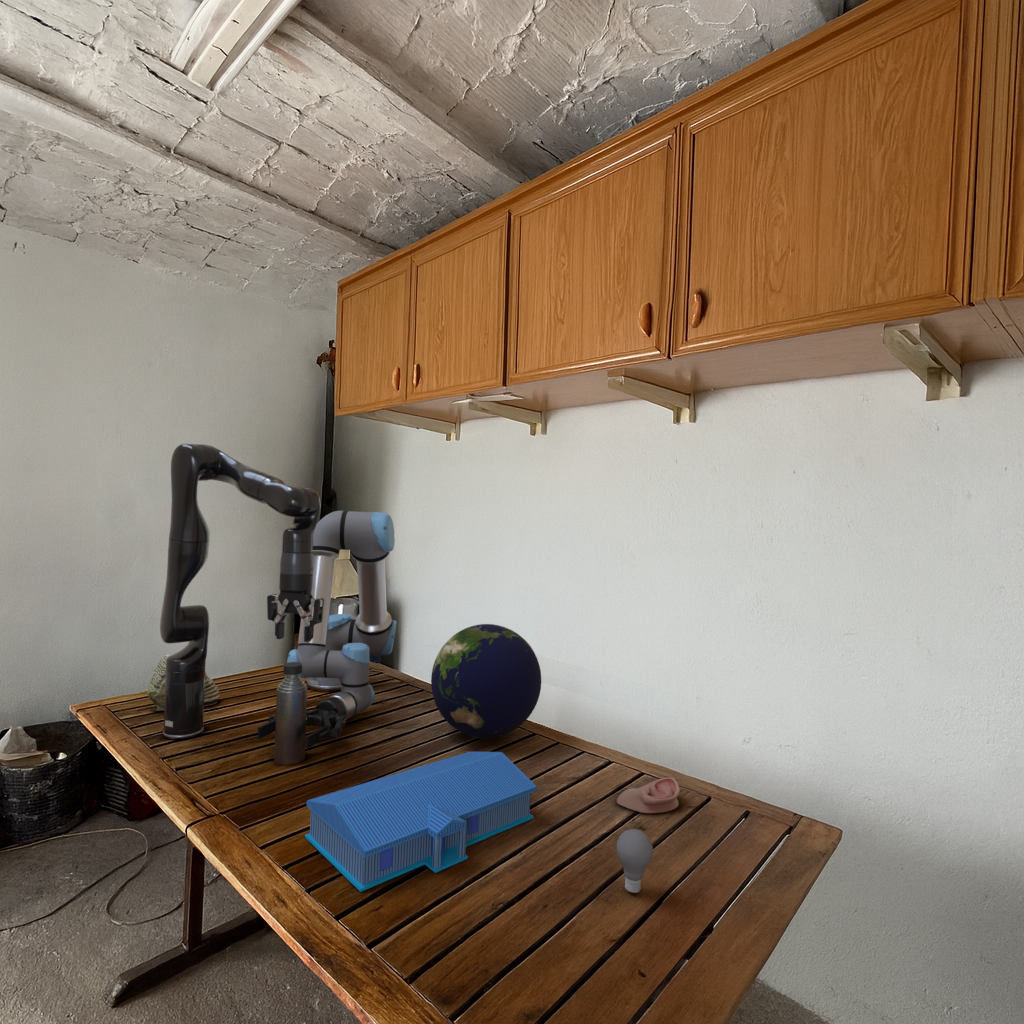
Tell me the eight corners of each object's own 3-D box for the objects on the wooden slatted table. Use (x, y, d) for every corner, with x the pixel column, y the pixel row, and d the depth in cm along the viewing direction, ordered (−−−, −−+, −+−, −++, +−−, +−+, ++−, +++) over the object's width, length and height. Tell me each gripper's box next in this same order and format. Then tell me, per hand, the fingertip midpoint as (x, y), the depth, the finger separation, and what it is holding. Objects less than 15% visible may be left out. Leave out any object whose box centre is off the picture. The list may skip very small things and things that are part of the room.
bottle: (288, 767, 147) (291, 671, 147) (267, 760, 151) (271, 666, 150) (311, 757, 153) (314, 665, 153) (290, 750, 157) (294, 660, 156)
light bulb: (610, 879, 108) (613, 822, 108) (644, 879, 109) (647, 822, 109) (619, 902, 102) (622, 840, 102) (655, 901, 103) (658, 840, 103)
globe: (407, 742, 164) (412, 628, 164) (459, 709, 192) (464, 611, 192) (514, 765, 153) (519, 642, 153) (553, 726, 181) (558, 622, 180)
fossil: (144, 707, 182) (145, 655, 182) (212, 696, 194) (213, 647, 194) (151, 716, 175) (153, 662, 175) (221, 703, 188) (223, 653, 188)
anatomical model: (616, 790, 133) (618, 768, 145) (615, 809, 133) (618, 785, 145) (681, 799, 131) (678, 776, 142) (680, 818, 131) (677, 793, 142)
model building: (370, 901, 100) (373, 839, 100) (303, 836, 118) (305, 782, 118) (545, 824, 126) (547, 774, 126) (468, 780, 144) (470, 736, 144)
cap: (292, 676, 149) (292, 667, 149) (279, 673, 151) (279, 664, 151) (305, 672, 152) (306, 663, 152) (293, 669, 154) (293, 661, 154)
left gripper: (260, 570, 149) (257, 640, 149) (315, 574, 146) (313, 646, 146) (278, 567, 156) (276, 634, 157) (331, 571, 153) (329, 639, 154)
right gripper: (375, 731, 165) (327, 762, 145) (294, 717, 173) (238, 744, 153) (376, 703, 165) (328, 729, 145) (295, 690, 173) (239, 714, 153)
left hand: (294, 639), depth 151 cm, fingers open, 6 cm apart
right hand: (282, 737), depth 149 cm, fingers open, 13 cm apart
